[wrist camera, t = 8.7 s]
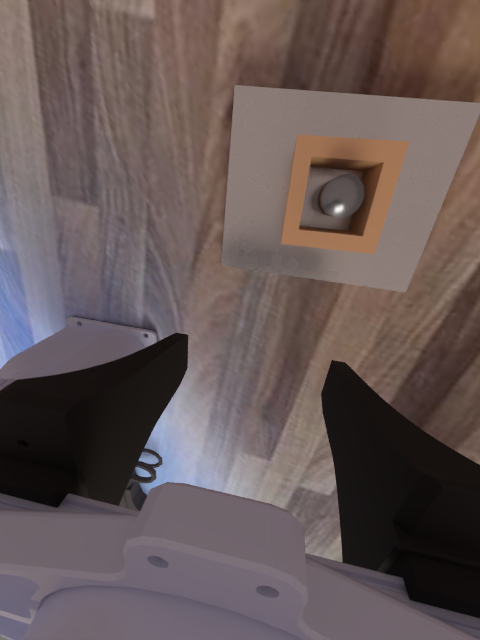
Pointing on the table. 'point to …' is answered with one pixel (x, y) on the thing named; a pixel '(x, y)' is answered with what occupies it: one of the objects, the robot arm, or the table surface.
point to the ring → (378, 180)
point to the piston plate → (337, 120)
